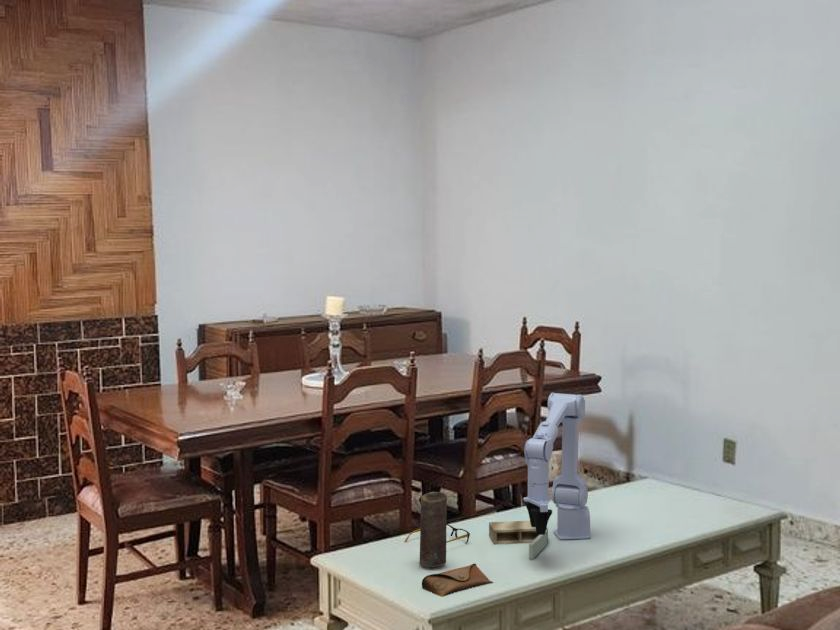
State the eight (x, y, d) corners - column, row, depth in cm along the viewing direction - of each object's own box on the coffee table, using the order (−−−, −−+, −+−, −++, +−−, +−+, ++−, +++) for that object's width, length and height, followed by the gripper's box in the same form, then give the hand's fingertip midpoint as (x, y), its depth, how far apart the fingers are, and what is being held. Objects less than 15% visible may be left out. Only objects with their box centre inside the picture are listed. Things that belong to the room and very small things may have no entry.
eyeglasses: (472, 545, 289) (472, 531, 289) (435, 555, 280) (435, 542, 280) (439, 534, 300) (439, 521, 300) (403, 544, 291) (403, 530, 290)
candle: (452, 566, 270) (452, 494, 268) (433, 572, 265) (433, 500, 263) (432, 559, 276) (432, 489, 274) (414, 565, 271) (413, 494, 269)
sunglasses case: (441, 597, 247) (432, 571, 249) (426, 604, 252) (418, 578, 254) (495, 582, 258) (487, 557, 260) (480, 588, 263) (472, 564, 265)
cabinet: (541, 533, 298) (541, 520, 298) (547, 542, 290) (547, 528, 290) (489, 535, 296) (489, 522, 296) (494, 544, 288) (494, 530, 288)
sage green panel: (545, 542, 290) (545, 528, 289) (548, 542, 289) (548, 529, 289) (529, 558, 275) (529, 544, 275) (532, 559, 275) (532, 545, 274)
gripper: (518, 475, 276) (518, 523, 277) (529, 489, 262) (529, 539, 263) (542, 475, 277) (542, 522, 278) (555, 488, 263) (555, 538, 264)
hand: (537, 530), depth 271 cm, fingers open, 6 cm apart
